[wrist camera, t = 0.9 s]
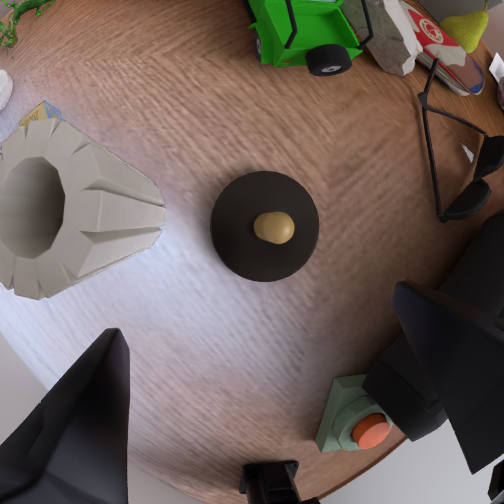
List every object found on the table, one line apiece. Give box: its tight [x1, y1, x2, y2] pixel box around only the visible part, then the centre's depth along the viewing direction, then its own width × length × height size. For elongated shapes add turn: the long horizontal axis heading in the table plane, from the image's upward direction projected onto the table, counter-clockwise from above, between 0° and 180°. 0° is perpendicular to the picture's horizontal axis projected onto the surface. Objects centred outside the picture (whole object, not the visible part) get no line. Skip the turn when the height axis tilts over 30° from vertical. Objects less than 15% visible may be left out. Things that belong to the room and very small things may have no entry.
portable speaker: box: [361, 209, 504, 442], centre depth 20 cm, size 26×10×10 cm, turn 131°
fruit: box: [439, 0, 488, 54], centre depth 16 cm, size 6×6×12 cm
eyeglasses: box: [417, 58, 504, 223], centre depth 21 cm, size 17×14×5 cm
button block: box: [315, 374, 393, 452], centre depth 23 cm, size 9×7×4 cm
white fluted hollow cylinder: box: [0, 118, 166, 300], centre depth 14 cm, size 7×7×13 cm
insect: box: [0, 0, 55, 59], centre depth 12 cm, size 10×14×10 cm
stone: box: [339, 0, 423, 76], centre depth 17 cm, size 12×5×3 cm
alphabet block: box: [20, 100, 62, 128], centre depth 16 cm, size 3×3×3 cm
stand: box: [210, 171, 319, 282], centre depth 19 cm, size 8×8×6 cm
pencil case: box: [398, 0, 485, 96], centre depth 19 cm, size 11×20×5 cm, turn 54°
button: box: [351, 413, 390, 449], centre depth 21 cm, size 4×4×2 cm
